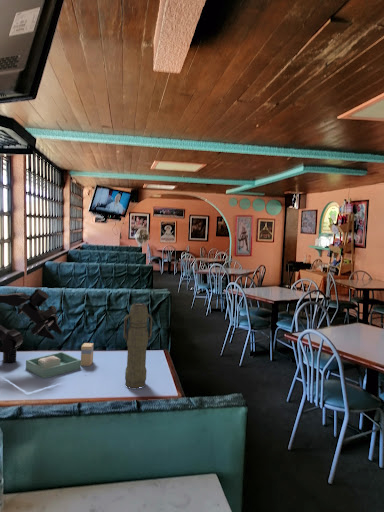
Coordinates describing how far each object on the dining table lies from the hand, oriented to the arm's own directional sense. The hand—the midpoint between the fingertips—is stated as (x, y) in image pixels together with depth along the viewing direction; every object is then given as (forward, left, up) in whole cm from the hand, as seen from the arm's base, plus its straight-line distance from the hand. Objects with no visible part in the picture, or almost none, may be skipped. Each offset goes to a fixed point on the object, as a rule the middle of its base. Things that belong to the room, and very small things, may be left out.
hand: (58, 336), depth 170 cm
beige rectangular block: (0, -4, -13) cm, 14 cm away
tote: (+4, -4, -14) cm, 15 cm away
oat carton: (+9, +11, -14) cm, 20 cm away
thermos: (+42, +12, -14) cm, 46 cm away
